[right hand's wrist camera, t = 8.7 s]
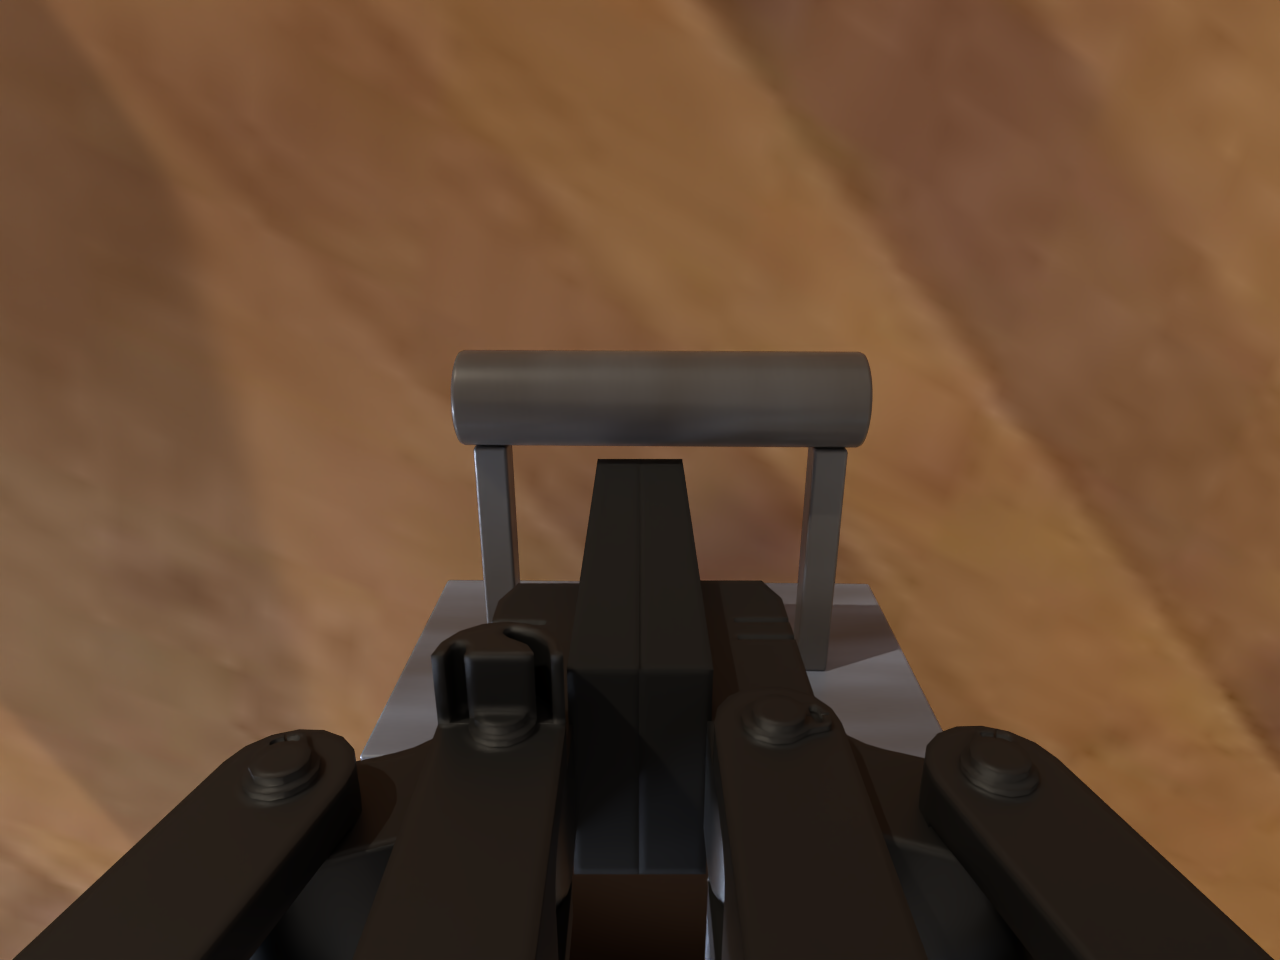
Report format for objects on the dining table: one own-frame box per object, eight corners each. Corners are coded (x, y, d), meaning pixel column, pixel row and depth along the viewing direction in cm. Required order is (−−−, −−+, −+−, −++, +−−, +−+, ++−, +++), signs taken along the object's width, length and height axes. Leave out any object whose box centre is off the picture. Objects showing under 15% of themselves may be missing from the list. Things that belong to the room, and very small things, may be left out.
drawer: (422, 316, 17) (302, 394, 11) (899, 318, 17) (1026, 398, 11) (498, 1110, 26) (453, 1378, 21) (807, 1116, 26) (850, 1388, 20)
